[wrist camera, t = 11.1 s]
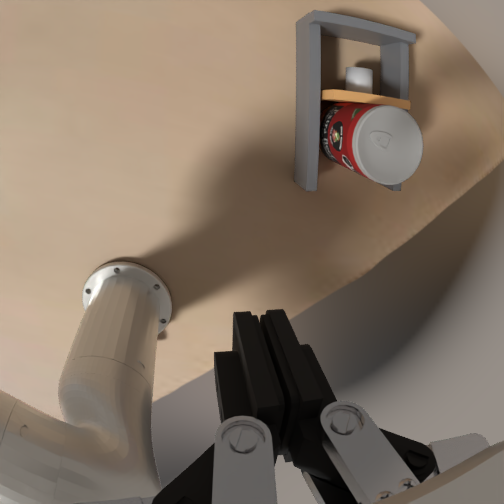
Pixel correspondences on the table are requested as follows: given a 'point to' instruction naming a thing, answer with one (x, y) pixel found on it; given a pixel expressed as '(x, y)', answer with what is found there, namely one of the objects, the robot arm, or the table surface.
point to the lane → (310, 78)
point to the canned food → (372, 140)
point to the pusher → (361, 90)
